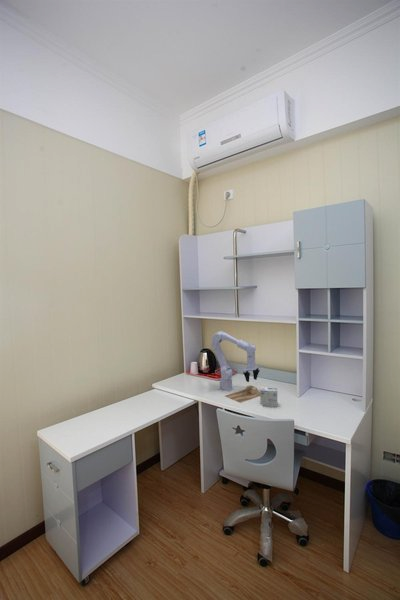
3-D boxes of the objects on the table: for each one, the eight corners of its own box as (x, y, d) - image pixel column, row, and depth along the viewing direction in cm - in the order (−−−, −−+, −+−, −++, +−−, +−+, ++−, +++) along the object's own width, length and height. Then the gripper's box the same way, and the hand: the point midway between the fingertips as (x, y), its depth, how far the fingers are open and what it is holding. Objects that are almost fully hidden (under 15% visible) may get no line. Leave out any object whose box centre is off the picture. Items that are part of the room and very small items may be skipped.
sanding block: (246, 392, 217) (246, 386, 217) (250, 390, 220) (250, 385, 220) (253, 394, 212) (253, 389, 212) (257, 393, 214) (257, 387, 214)
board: (224, 397, 211) (224, 395, 211) (248, 389, 225) (248, 388, 225) (240, 404, 198) (240, 402, 198) (265, 395, 212) (265, 394, 212)
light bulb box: (277, 403, 199) (277, 387, 198) (277, 407, 192) (277, 390, 192) (260, 402, 202) (260, 386, 201) (260, 406, 195) (259, 389, 194)
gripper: (247, 364, 209) (248, 384, 209) (262, 361, 217) (262, 379, 218) (240, 362, 214) (241, 381, 215) (255, 359, 223) (255, 377, 224)
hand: (251, 380), depth 217 cm, fingers open, 7 cm apart
